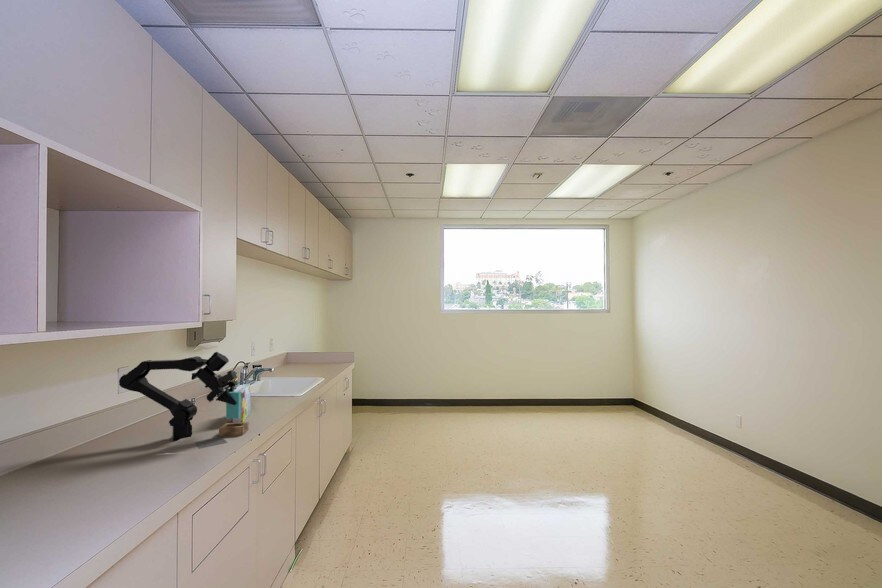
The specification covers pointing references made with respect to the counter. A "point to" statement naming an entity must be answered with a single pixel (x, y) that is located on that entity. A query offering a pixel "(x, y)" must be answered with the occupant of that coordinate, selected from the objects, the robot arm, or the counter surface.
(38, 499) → the counter surface
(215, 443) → the rubber mat
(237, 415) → the teal block
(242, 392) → the snack box
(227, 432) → the slot box
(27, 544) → the counter surface
